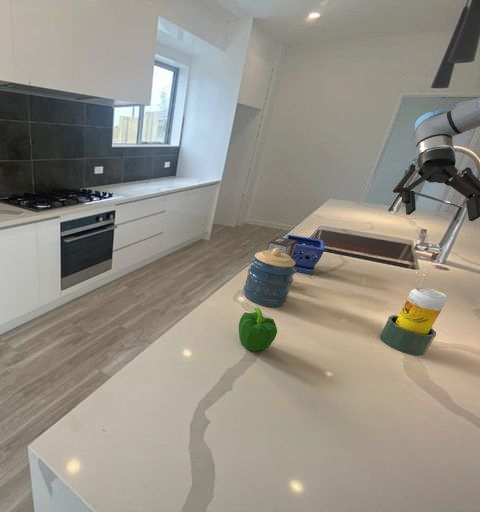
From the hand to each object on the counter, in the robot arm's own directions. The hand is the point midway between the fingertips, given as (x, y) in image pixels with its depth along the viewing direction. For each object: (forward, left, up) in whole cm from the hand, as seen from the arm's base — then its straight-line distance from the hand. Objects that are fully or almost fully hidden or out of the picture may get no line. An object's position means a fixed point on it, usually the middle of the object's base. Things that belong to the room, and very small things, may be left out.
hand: (442, 215), depth 83 cm
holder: (+7, +22, -31) cm, 38 cm away
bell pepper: (+44, +40, -31) cm, 67 cm away
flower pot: (+24, -23, -31) cm, 46 cm away
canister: (+39, +11, -31) cm, 51 cm away
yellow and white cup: (+7, +22, -30) cm, 38 cm away
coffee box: (+35, -4, -31) cm, 47 cm away
